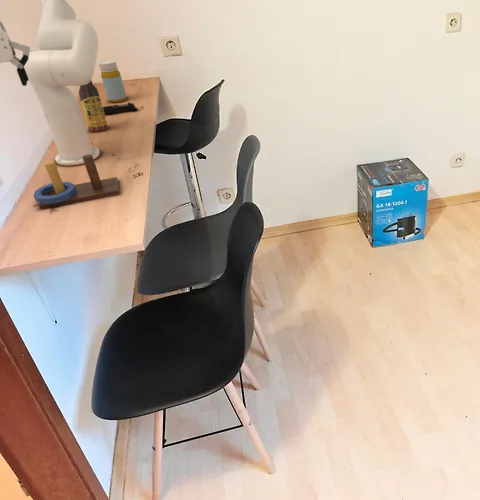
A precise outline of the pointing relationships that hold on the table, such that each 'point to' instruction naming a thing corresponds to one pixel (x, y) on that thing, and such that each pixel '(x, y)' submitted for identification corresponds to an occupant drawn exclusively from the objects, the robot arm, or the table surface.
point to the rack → (83, 190)
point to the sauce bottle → (92, 107)
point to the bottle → (112, 81)
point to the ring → (63, 196)
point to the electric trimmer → (119, 108)
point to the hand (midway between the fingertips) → (3, 87)
